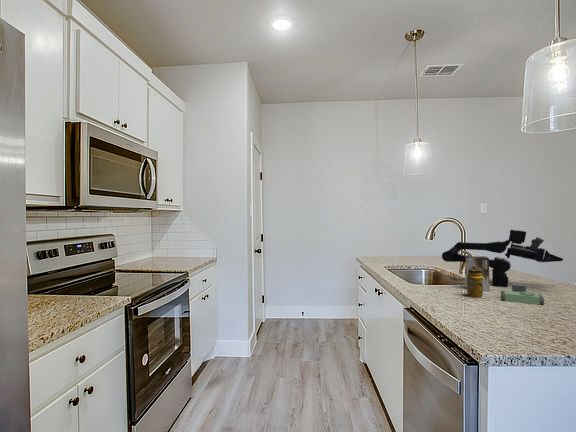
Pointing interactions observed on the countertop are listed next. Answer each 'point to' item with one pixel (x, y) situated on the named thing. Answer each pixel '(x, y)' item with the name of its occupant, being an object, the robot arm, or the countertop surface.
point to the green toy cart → (522, 297)
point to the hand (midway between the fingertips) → (562, 259)
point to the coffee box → (479, 268)
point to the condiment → (474, 284)
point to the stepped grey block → (518, 288)
